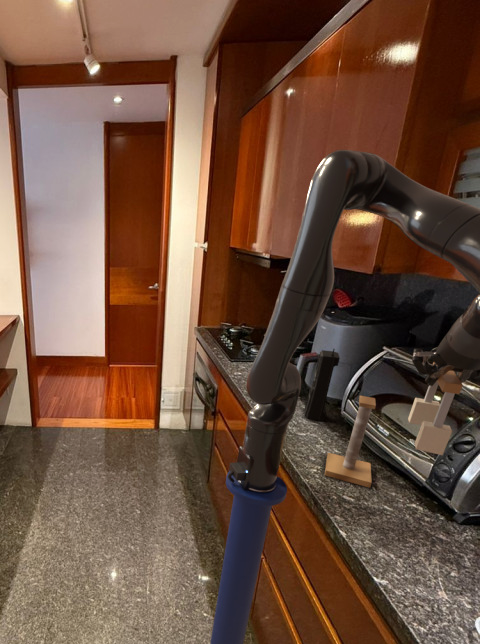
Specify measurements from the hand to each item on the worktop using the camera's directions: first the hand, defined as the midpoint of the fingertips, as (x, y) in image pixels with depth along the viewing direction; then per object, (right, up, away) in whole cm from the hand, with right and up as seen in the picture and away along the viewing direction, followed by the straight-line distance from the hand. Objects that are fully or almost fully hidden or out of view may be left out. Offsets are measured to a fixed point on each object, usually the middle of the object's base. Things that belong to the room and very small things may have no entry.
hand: (440, 383), depth 77 cm
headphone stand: (-1, -24, +26) cm, 35 cm away
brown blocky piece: (-1, -11, +3) cm, 11 cm away
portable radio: (+7, -11, +57) cm, 58 cm away
